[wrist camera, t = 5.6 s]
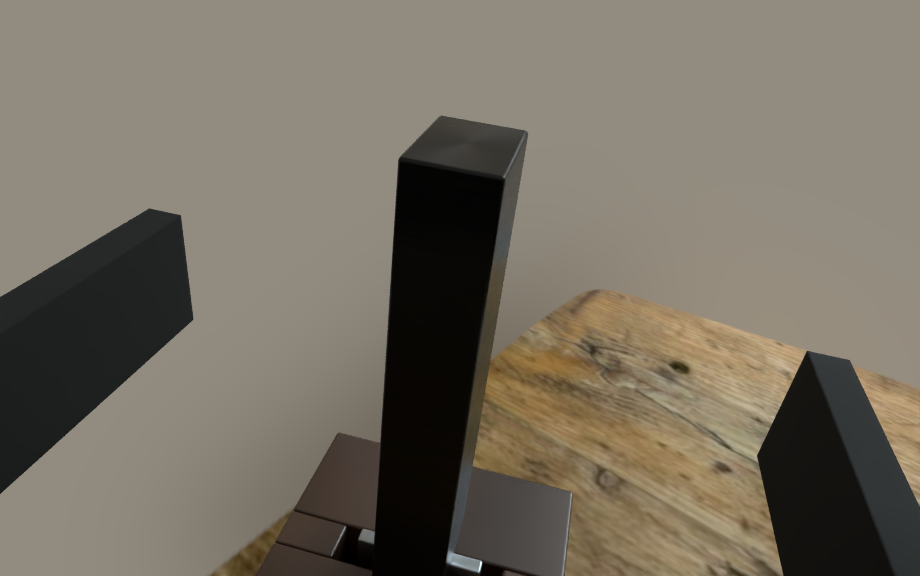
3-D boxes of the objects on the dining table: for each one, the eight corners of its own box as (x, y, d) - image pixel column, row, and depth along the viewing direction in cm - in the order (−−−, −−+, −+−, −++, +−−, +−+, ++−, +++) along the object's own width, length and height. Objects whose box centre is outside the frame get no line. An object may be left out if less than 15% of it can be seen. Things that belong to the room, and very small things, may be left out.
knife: (336, 773, 20) (351, 148, 10) (364, 693, 22) (401, 107, 12) (432, 805, 19) (555, 186, 9) (451, 720, 21) (569, 137, 11)
